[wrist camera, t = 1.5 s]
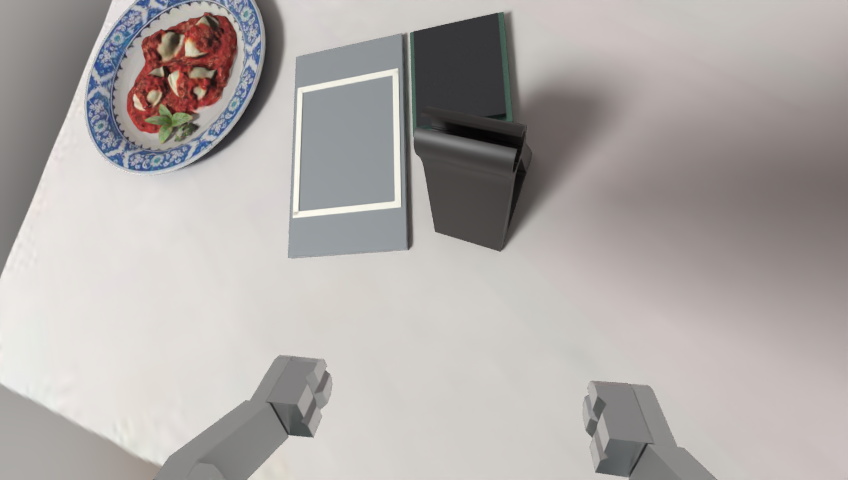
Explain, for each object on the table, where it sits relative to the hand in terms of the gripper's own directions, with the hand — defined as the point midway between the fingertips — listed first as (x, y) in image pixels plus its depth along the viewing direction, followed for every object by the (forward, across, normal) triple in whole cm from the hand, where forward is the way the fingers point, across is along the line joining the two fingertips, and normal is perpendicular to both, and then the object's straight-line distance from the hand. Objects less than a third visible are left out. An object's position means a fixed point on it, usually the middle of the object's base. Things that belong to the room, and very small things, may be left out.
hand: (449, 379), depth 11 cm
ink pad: (+30, +2, -4) cm, 30 cm away
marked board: (+26, +13, +1) cm, 29 cm away
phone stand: (+22, -1, +5) cm, 22 cm away
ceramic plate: (+35, +35, -4) cm, 50 cm away
